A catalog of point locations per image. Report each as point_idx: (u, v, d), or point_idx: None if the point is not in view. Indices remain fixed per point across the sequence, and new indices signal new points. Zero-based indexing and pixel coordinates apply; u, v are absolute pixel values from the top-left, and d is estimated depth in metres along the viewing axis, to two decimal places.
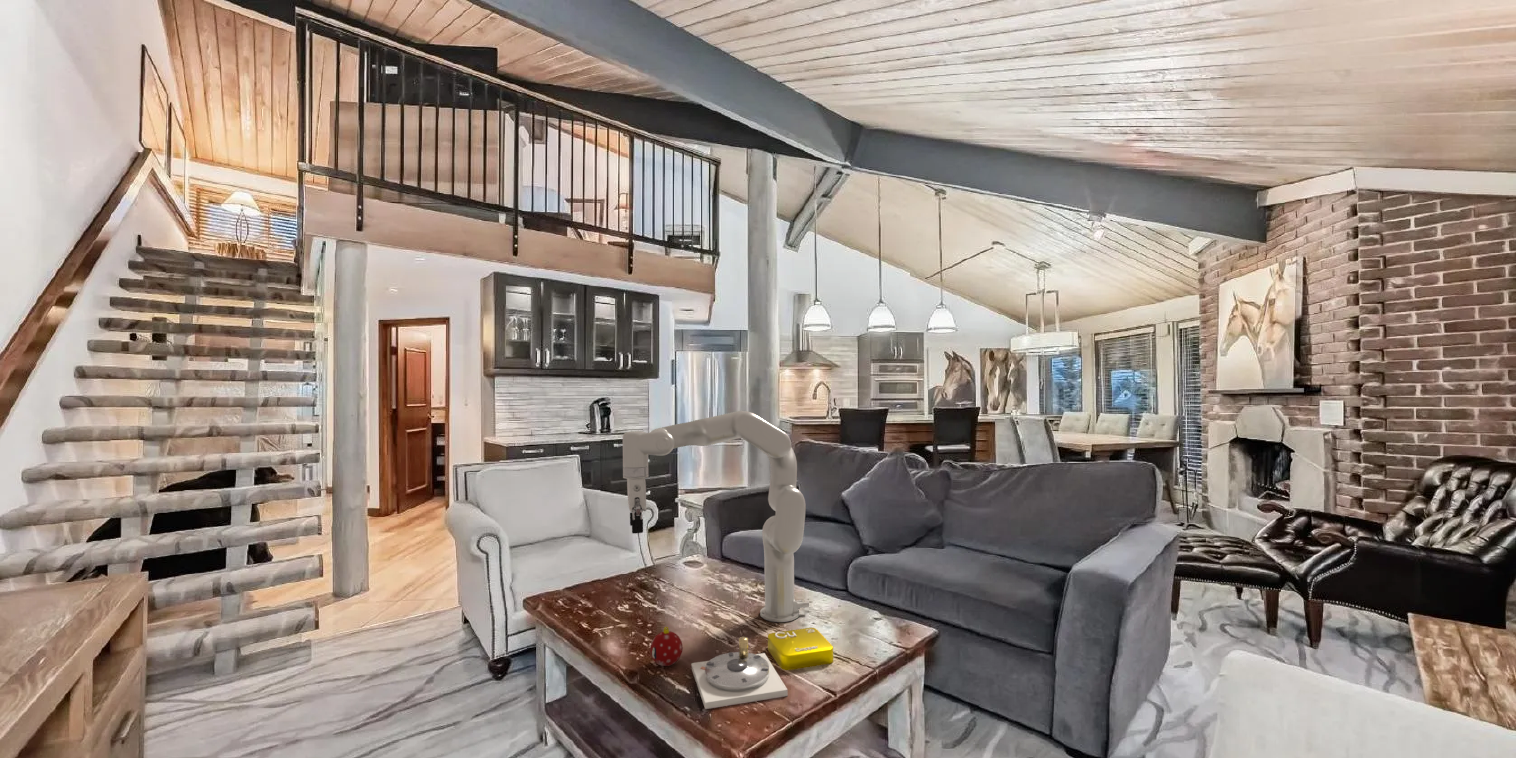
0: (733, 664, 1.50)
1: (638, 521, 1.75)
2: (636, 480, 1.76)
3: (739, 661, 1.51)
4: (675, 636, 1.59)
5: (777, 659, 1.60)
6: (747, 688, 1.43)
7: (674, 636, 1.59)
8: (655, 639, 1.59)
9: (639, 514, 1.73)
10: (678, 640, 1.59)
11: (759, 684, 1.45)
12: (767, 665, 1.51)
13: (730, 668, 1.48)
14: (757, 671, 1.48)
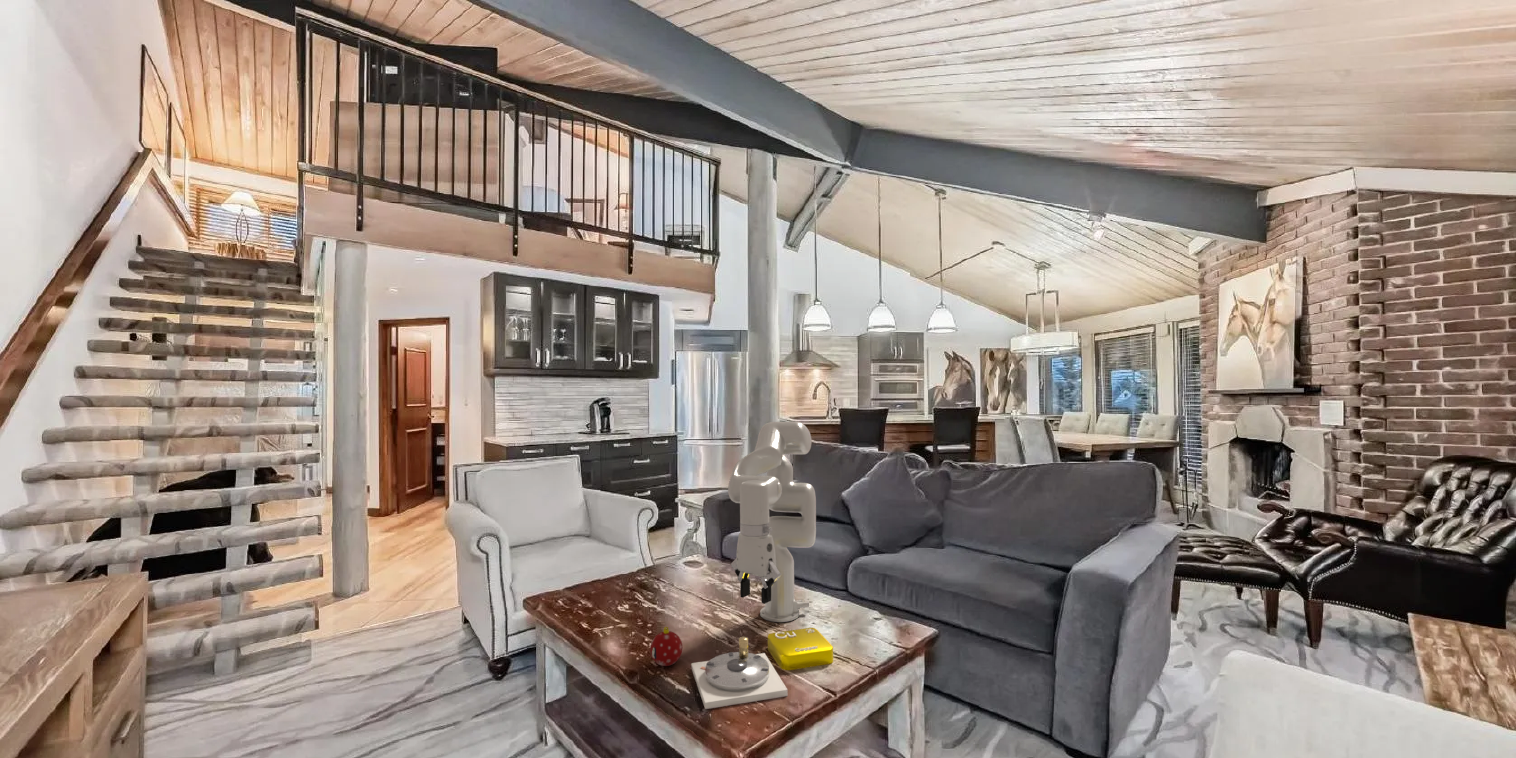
0: (733, 664, 1.50)
1: (770, 588, 1.51)
2: (768, 538, 1.51)
3: (739, 661, 1.51)
4: (675, 636, 1.59)
5: (777, 659, 1.60)
6: (747, 688, 1.43)
7: (674, 636, 1.59)
8: (655, 639, 1.59)
9: (775, 580, 1.50)
10: (678, 640, 1.59)
11: (759, 684, 1.45)
12: (767, 665, 1.51)
13: (730, 668, 1.48)
14: (757, 671, 1.48)
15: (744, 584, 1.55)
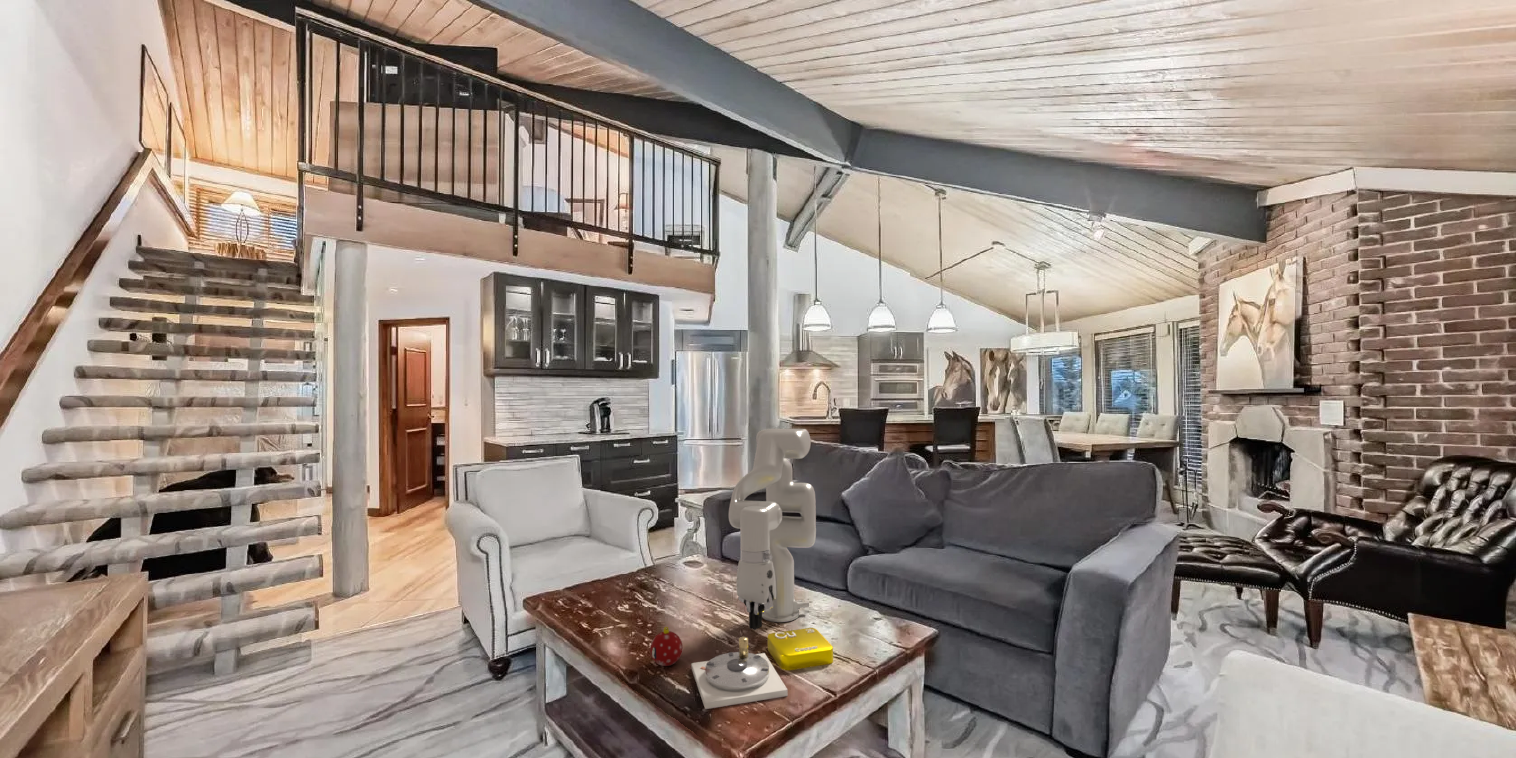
0: (733, 664, 1.50)
1: (760, 614, 1.52)
2: (768, 565, 1.51)
3: (739, 661, 1.51)
4: (675, 636, 1.59)
5: (776, 659, 1.60)
6: (747, 688, 1.43)
7: (674, 636, 1.59)
8: (655, 639, 1.59)
9: None
10: (678, 640, 1.59)
11: (759, 684, 1.45)
12: (767, 665, 1.51)
13: (730, 668, 1.48)
14: (757, 671, 1.48)
15: None
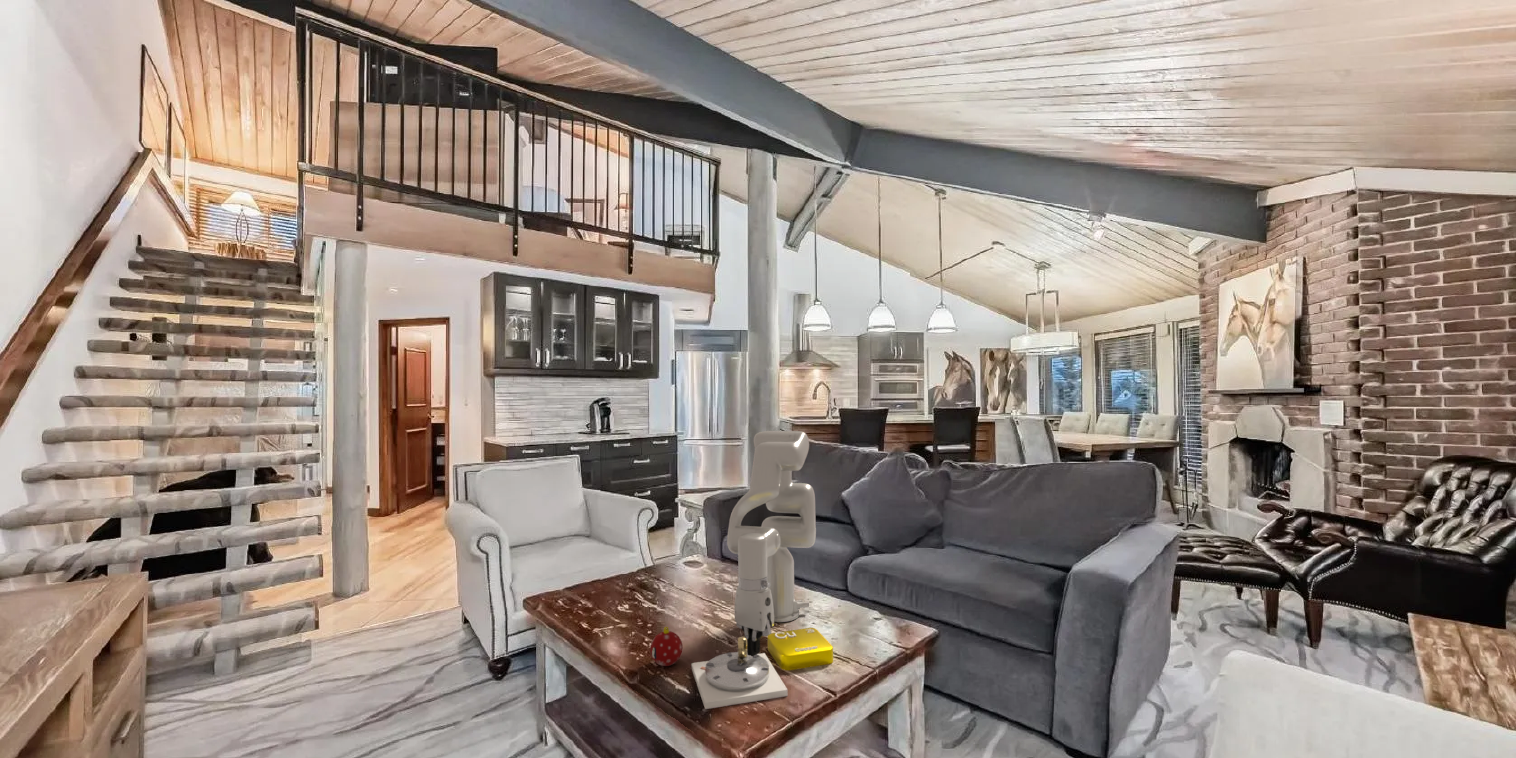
0: (733, 664, 1.50)
1: (758, 640, 1.53)
2: (766, 592, 1.51)
3: (739, 661, 1.51)
4: (675, 636, 1.59)
5: (776, 659, 1.60)
6: (748, 688, 1.43)
7: (674, 636, 1.59)
8: (655, 639, 1.59)
9: None
10: (678, 640, 1.59)
11: (760, 683, 1.45)
12: (767, 664, 1.51)
13: (730, 669, 1.48)
14: (757, 670, 1.48)
15: None
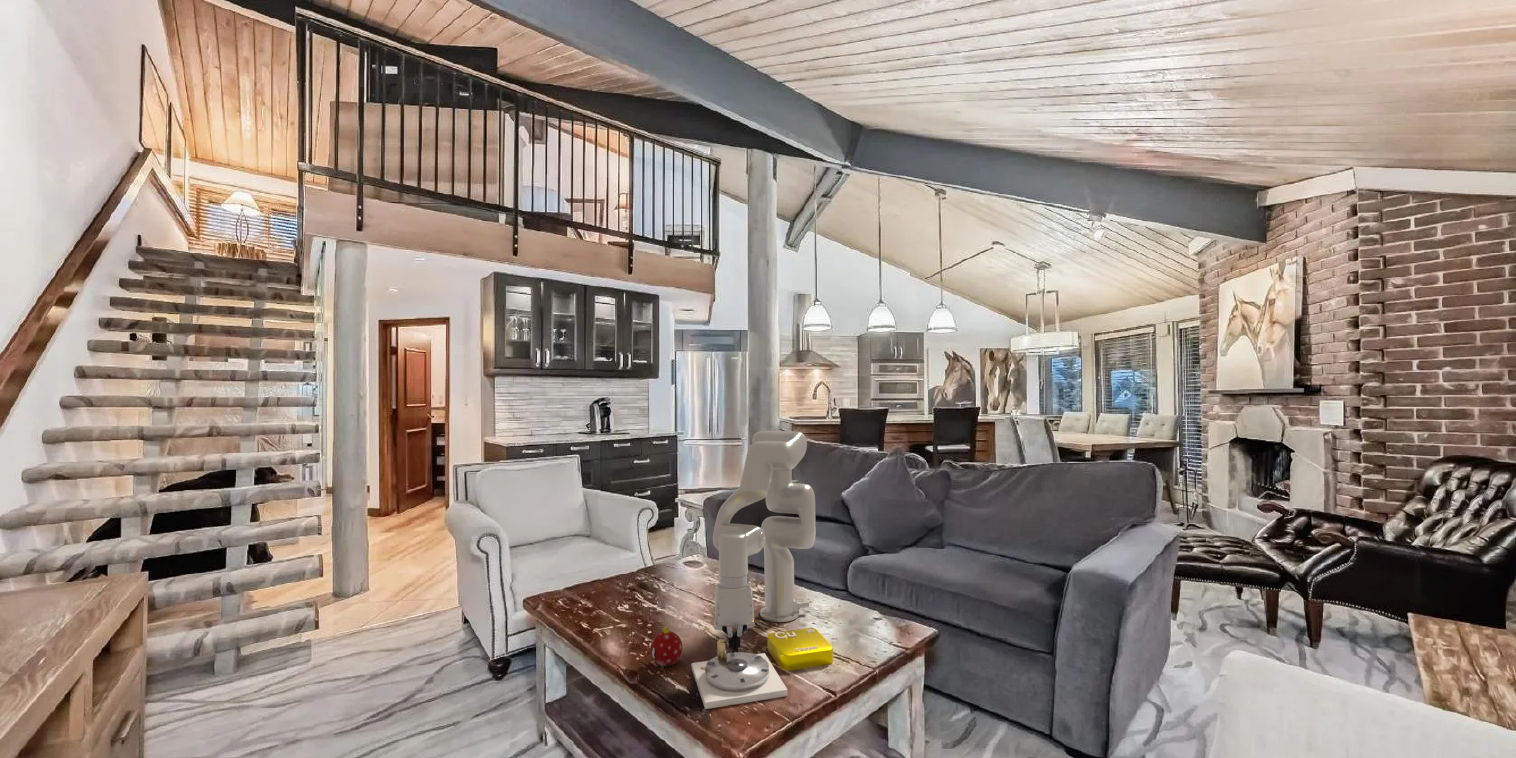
0: (736, 665, 1.49)
1: None
2: (750, 585, 1.56)
3: (734, 661, 1.51)
4: (675, 636, 1.59)
5: (777, 659, 1.60)
6: (768, 676, 1.48)
7: (674, 636, 1.59)
8: (655, 639, 1.59)
9: None
10: (678, 640, 1.59)
11: None
12: (752, 654, 1.57)
13: (739, 669, 1.48)
14: (756, 661, 1.53)
15: None
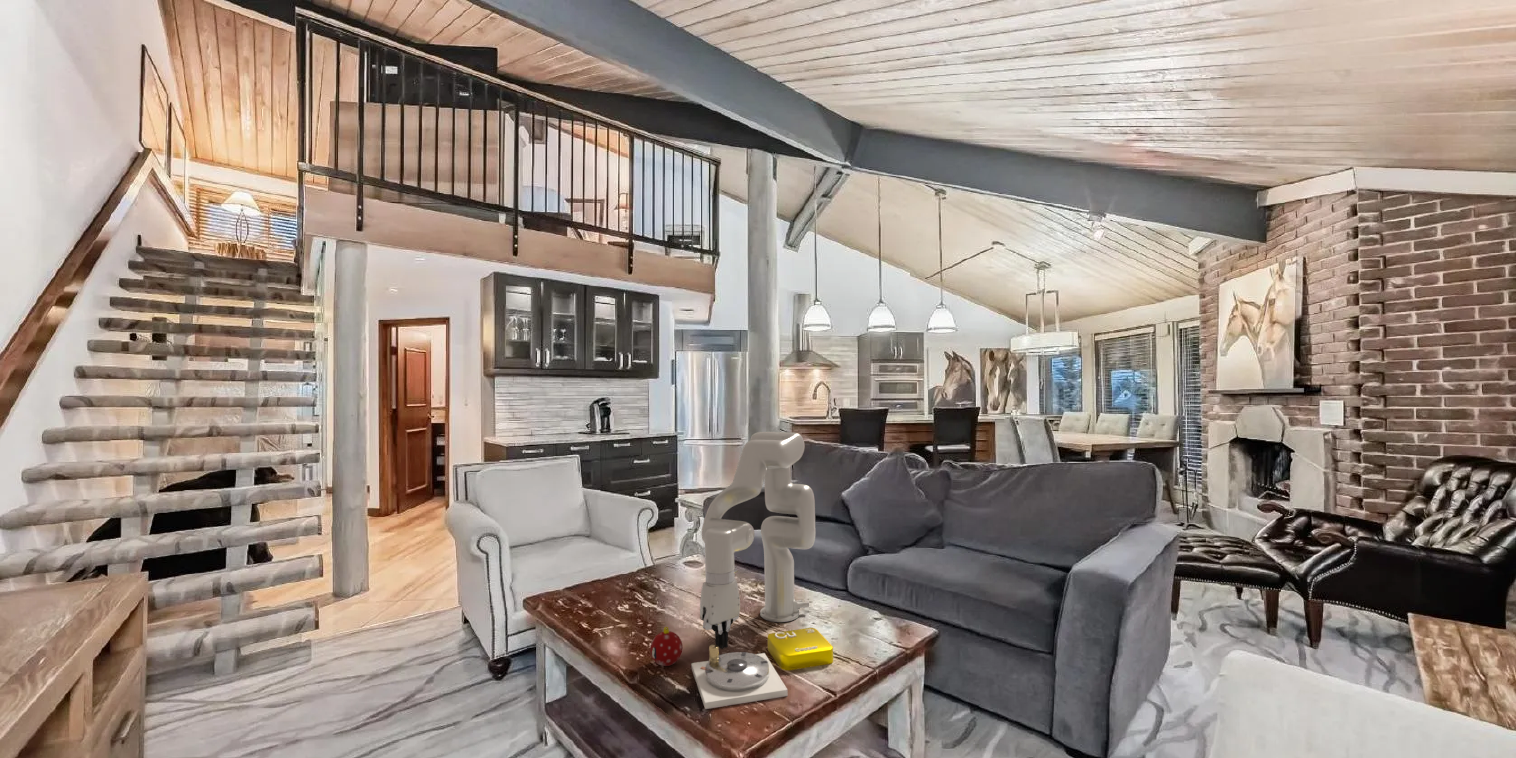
0: (739, 665, 1.49)
1: None
2: None
3: (732, 662, 1.51)
4: (675, 636, 1.59)
5: (777, 660, 1.60)
6: None
7: (674, 636, 1.59)
8: (655, 639, 1.59)
9: None
10: (678, 640, 1.59)
11: None
12: (735, 652, 1.58)
13: (744, 668, 1.49)
14: (747, 657, 1.55)
15: None
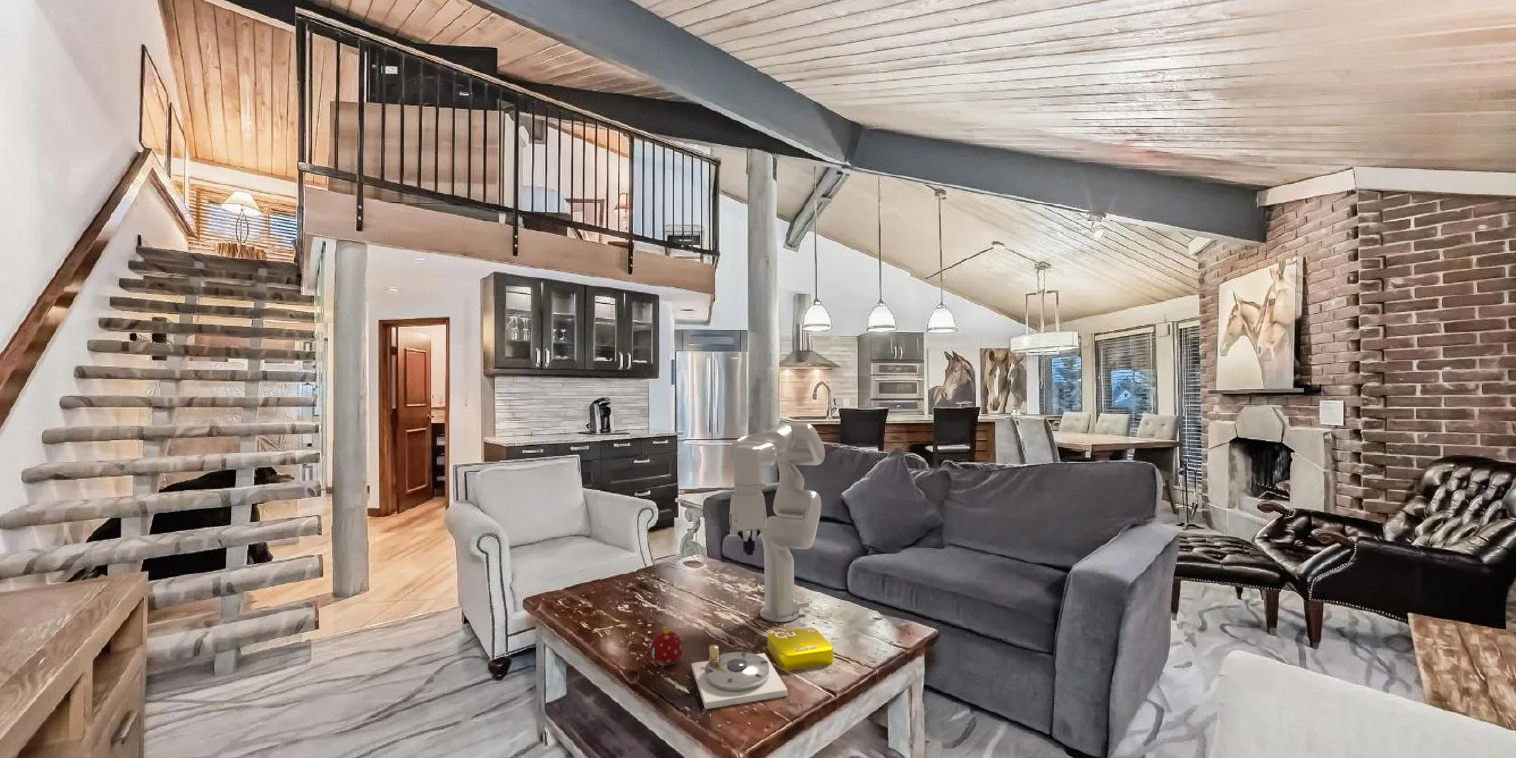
0: (739, 665, 1.49)
1: None
2: None
3: (732, 662, 1.51)
4: (675, 636, 1.59)
5: (777, 659, 1.60)
6: None
7: (674, 636, 1.59)
8: (655, 639, 1.59)
9: None
10: (678, 640, 1.59)
11: None
12: (735, 652, 1.58)
13: (744, 668, 1.49)
14: (747, 657, 1.55)
15: None
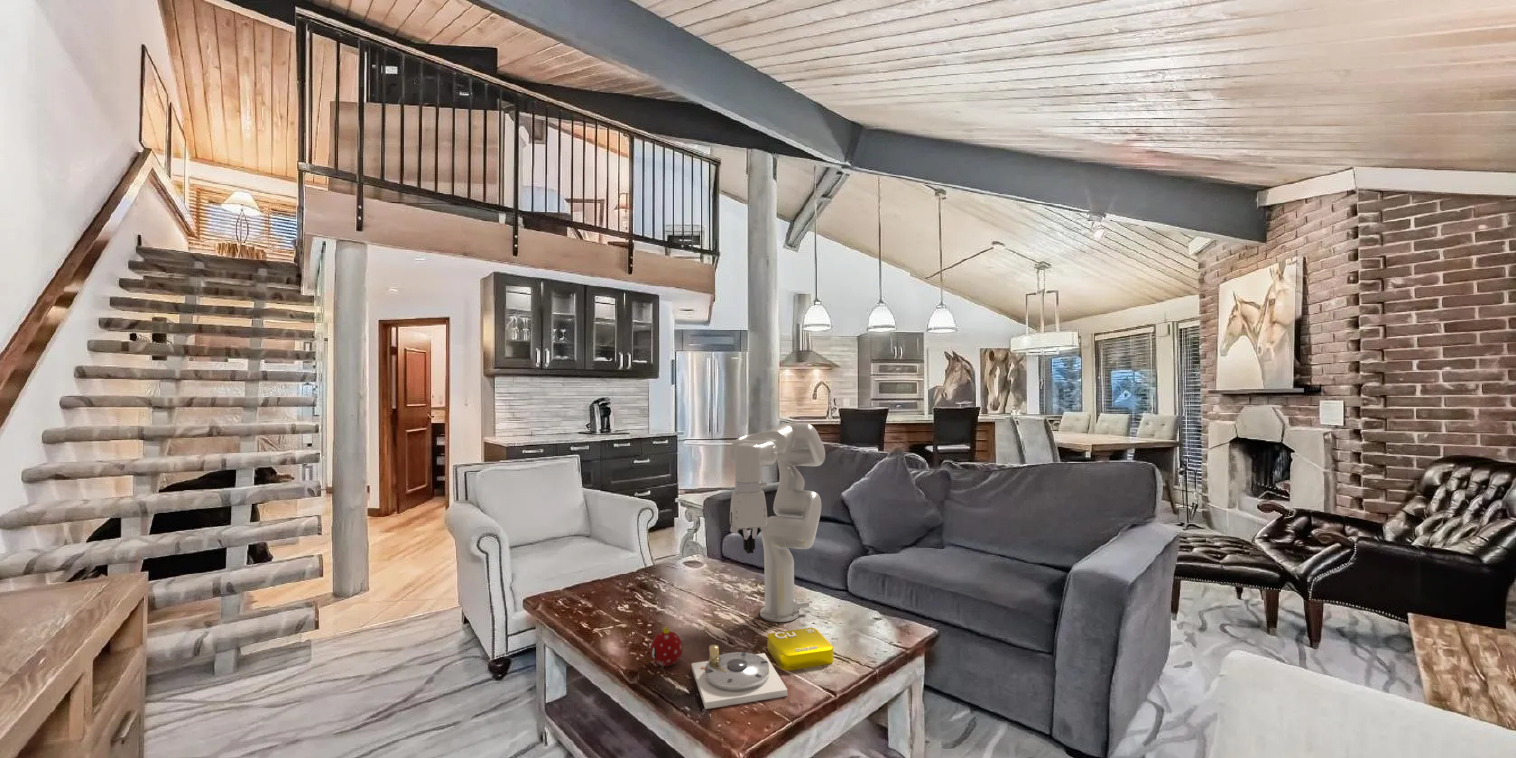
0: (739, 665, 1.49)
1: None
2: (763, 492, 1.70)
3: (732, 662, 1.51)
4: (675, 636, 1.59)
5: (777, 659, 1.60)
6: None
7: (674, 636, 1.59)
8: (655, 639, 1.59)
9: None
10: (678, 640, 1.59)
11: None
12: (735, 652, 1.58)
13: (744, 668, 1.49)
14: (747, 657, 1.55)
15: None
